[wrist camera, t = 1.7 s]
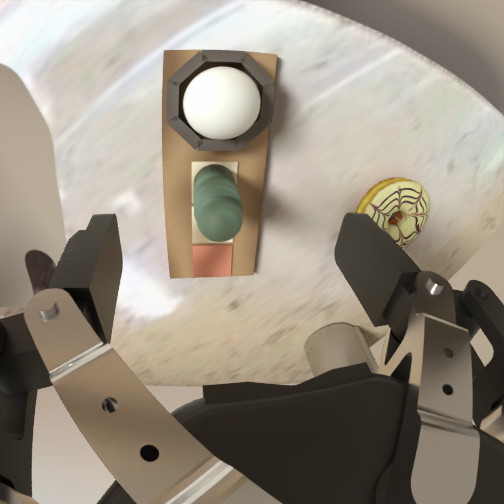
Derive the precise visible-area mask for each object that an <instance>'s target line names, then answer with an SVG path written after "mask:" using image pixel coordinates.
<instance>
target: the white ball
mask: <svg viewBox="0 0 504 504" xmlns="http://www.w3.org/2000/svg"><path fill="white" fill-rule="evenodd" d="M183 109H184V114H185V117H186V119H187V121H188V123H189V124H190V125H191V127H192V128H193V129H194V130H195V131H197V132H198V133H200V134H201V135H203V136H205V137H208V138H211V139H216V140H226V139H231V138H234V137H237V136H239V135H241V134H243V133H244V132H246V131H247V130H248V129H249V128H250V127H251V126H252V125H253V124H254V122H255V120H256V119H257V116H258V114H259V111H260V94H259V91H258V88H257V86H256V85H255V83H254V82H253V80H252V79H251V78H250V77H249V76H248V75H246V74H245V73H244V72H242V71H240V70H238V69H235V68H231V67H214V68H211V69H208V70H205V71H203V72H202V73H200V74H199V75H197V76H196V77H195V78H194V79H193V80H192V81H191V83H190V84H189V85H188V87H187V89H186V91H185V94H184V99H183Z"/></svg>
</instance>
